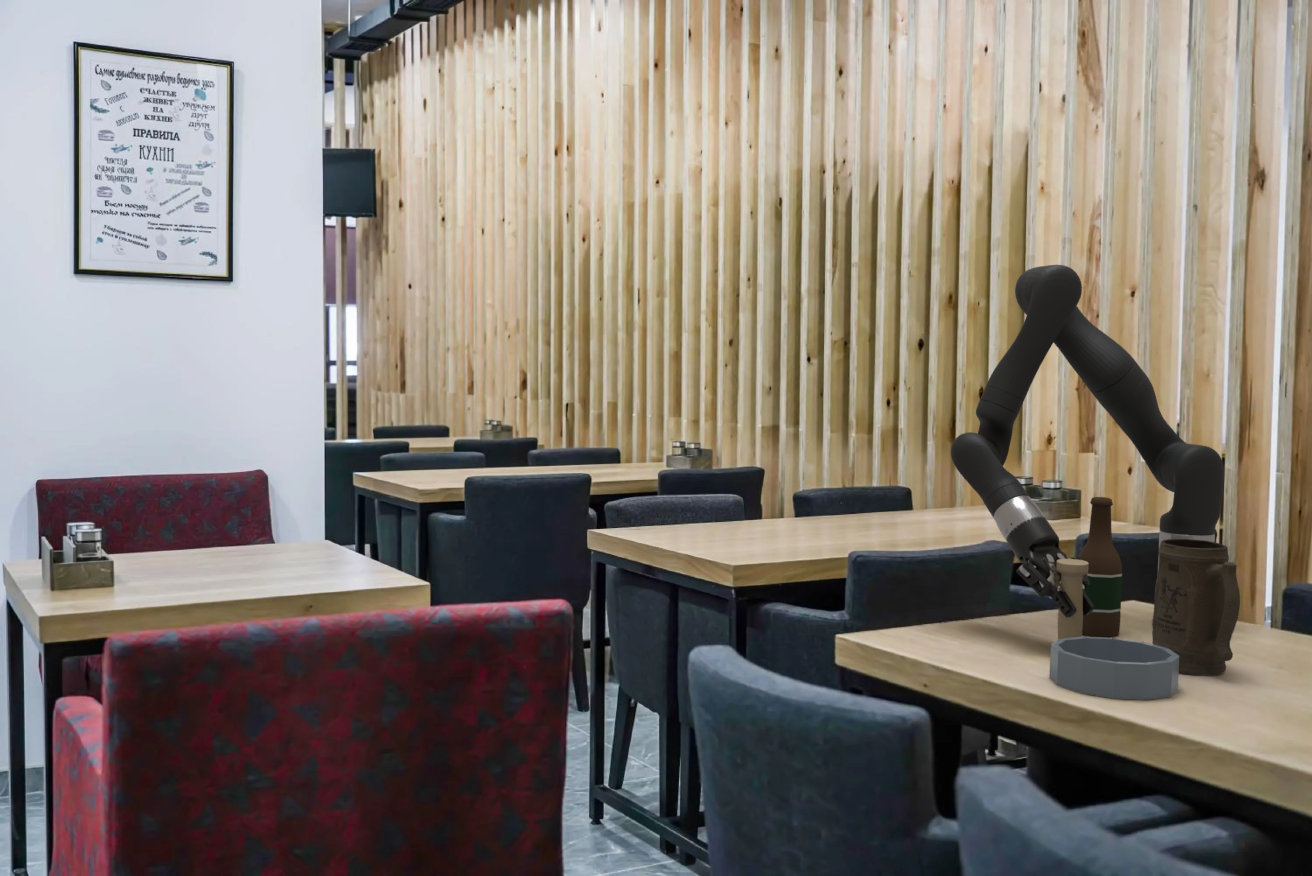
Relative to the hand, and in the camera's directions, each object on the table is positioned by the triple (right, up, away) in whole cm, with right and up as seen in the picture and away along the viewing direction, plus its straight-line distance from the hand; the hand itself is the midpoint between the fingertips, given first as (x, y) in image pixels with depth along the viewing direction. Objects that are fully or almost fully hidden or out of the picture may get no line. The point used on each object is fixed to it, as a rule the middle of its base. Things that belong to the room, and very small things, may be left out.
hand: (1080, 613), depth 191 cm
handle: (-1, -7, +2) cm, 7 cm away
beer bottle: (+9, -6, +18) cm, 21 cm away
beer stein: (+16, -8, -8) cm, 19 cm away
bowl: (-1, -8, -17) cm, 18 cm away
